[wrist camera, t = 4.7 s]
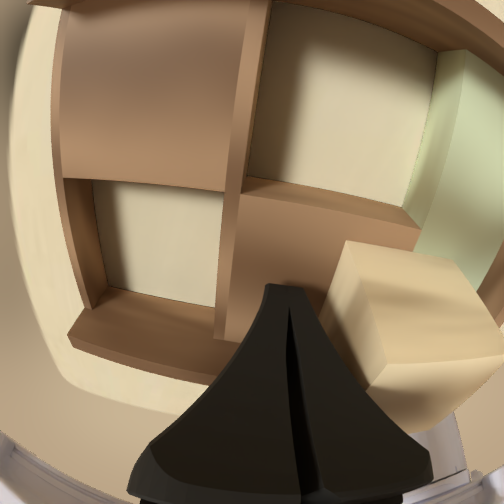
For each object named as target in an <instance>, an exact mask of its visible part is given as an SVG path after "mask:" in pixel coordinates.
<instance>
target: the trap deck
mask: <svg viewBox="0 0 504 504" xmlns="http://www.w3.org/2000/svg"><path fill="white" fill-rule="evenodd" d="M273 1H278V2H285V3H292V4H298V5H303V6H308V7H313V8H318V9H323V10H327V11H331V12H335V13H339V14H343V15H346V16H350V17H353V18H356V19H360V20H363V21H366V22H369V23H372V24H375V25H377V26H380V27H383V28H385V29H388V30H391V31H393V32H396V33H398V34H400V35H403V36H405V37H407V38H410V39H412V40H414V41H416V42H418V43H420V44H423V45H425V46H427V47H429V48H431V49H433V50H435V51H436V52H438V55H437V64H436V71H435V78H434V85H433V91H432V96H431V102H430V107H429V112H428V117H427V121H426V126H425V130H424V134H423V138H422V142H421V146H420V150H419V154H418V157H417V161H416V165H415V168H414V171H413V175H412V178H411V181H410V185H409V188H408V191H407V194H406V197H405V200H404V203H403V206H402V207H398V206H394V205H390V204H386V203H382V202H378V201H374V200H370V199H366V198H361V197H357V196H353V195H348V194H344V193H339V192H334V191H329V190H324V189H319V188H314V187H309V186H304V185H298V184H293V183H287V182H281V181H275V180H269V179H263V178H257V177H250V176H247V170H248V163H249V155H250V148H251V141H252V134H253V127H254V119H255V113H256V106H257V99H258V92H259V85H260V78H261V72H262V65H263V59H264V52H265V46H266V40H267V33H268V27H269V21H270V15H271V9H272V3H273ZM26 4H30V5H39V6H47V7H53V8H59V9H62V11H61V16H60V21H59V26H58V32H57V38H56V44H55V52H54V60H53V70H52V84H51V143H52V157H53V168H54V177H55V185H56V193H57V199H58V205H59V211H60V217H61V222H62V227H63V232H64V236H65V241H66V245H67V249H68V253H69V257H70V261H71V265H72V268H73V272H74V275H75V279H76V282H77V285H78V289H79V292H80V295H81V298H82V301H83V304H84V307H85V308H84V309H83V311H82V312H81V314H80V315H79V317H78V318H77V320H76V321H75V323H74V324H73V326H72V328H71V329H70V331H69V332H68V334H67V336H68V338H69V340H70V342H71V344H72V346H73V347H74V348H77V349H79V350H82V351H84V352H87V353H90V354H93V355H95V356H98V357H101V358H104V359H107V360H110V361H113V362H116V363H119V364H123V365H126V366H129V367H133V368H136V369H139V370H143V371H147V372H150V373H154V374H158V375H162V376H166V377H170V378H174V379H179V380H183V381H188V382H193V383H198V384H203V385H208V386H210V385H211V384H212V382H213V381H214V380H215V379H216V378H217V376H218V375H219V374H220V373H221V371H222V370H223V369H224V367H225V366H226V365H227V363H228V362H229V361H230V359H231V358H232V356H233V355H234V353H235V352H236V350H237V349H238V347H239V346H240V344H241V342H242V341H243V339H244V337H245V336H246V334H247V332H248V330H249V329H250V327H251V325H252V323H253V321H254V319H255V317H256V314H257V312H258V310H259V308H260V305H261V302H262V298H263V294H264V289H265V285H266V284H268V283H273V284H280V285H287V286H294V287H301V288H303V289H304V290H305V292H306V294H307V297H308V299H309V301H310V303H311V305H312V307H313V309H314V311H315V313H316V315H317V317H319V315H320V312H321V309H322V307H323V304H324V302H325V299H326V296H327V294H328V291H329V288H330V285H331V283H332V280H333V277H334V274H335V271H336V269H337V266H338V263H339V260H340V257H341V254H342V251H343V248H344V245H345V242H346V240H348V241H354V242H360V243H366V244H371V245H377V246H383V247H388V248H394V249H399V250H405V251H410V252H416V253H421V254H426V255H431V256H437V257H442V258H447V259H452V260H453V261H454V262H455V263H456V265H457V266H458V267H459V269H460V270H461V271H462V273H463V274H464V275H465V277H466V278H467V280H468V281H469V282H470V284H471V285H472V287H473V288H474V290H475V291H476V293H477V294H478V295H479V297H480V298H481V300H482V302H483V303H484V305H485V306H486V308H487V309H488V311H489V313H490V314H491V316H492V317H493V319H494V321H495V322H496V324H497V326H498V328H500V326H501V325H502V324H503V322H504V23H503V22H502V21H501V20H500V19H499V18H497V17H496V16H495V15H494V14H492V13H491V12H490V11H489V10H487V9H486V8H485V7H483V6H482V5H481V4H479V3H478V2H476V1H475V0H27V3H26ZM91 179H100V180H115V181H128V182H140V183H151V184H161V185H171V186H180V187H189V188H197V189H205V190H213V191H220V192H224V202H223V212H222V223H221V235H220V247H219V259H218V273H217V287H216V302H215V308H212V307H206V306H201V305H195V304H190V303H184V302H179V301H174V300H169V299H164V298H159V297H155V296H150V295H145V294H141V293H136V292H132V291H127V290H123V289H119V288H115V287H110V286H108V282H107V278H106V273H105V269H104V264H103V259H102V254H101V248H100V243H99V237H98V230H97V224H96V217H95V209H94V201H93V192H92V181H91Z"/></svg>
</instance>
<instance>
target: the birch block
mask: <svg viewBox="0 0 504 504" xmlns="http://www.w3.org/2000/svg"><path fill="white" fill-rule="evenodd" d="M318 319H319V321H320V323H321V325H322V327H323V328H324V330H325V332H326V334H327V336H328V337H329V339H330V341H331V343H332V344H333V346H334V348H335V349H336V351H337V352H338V354H339V356H340V357H341V359H342V360H343V362H344V363H345V365H346V366H347V368H348V369H349V371H350V372H351V373H352V375H353V376H354V377H355V379H356V380H357V381H358V383H359V384H360V385H361V386H362V388H363V389H364V390H365V391H366V393H367V394H368V395H369V396H370V397H371V398H372V399H373V401H374V402H375V403H376V404H377V405H378V406H379V407H380V408H381V409H382V410H383V411H384V413H385V414H386V415H387V416H388V417H389V418H390V419H391V420H392V421H394V422H395V423H396V424H397V425H398V426H399V427H400V428H401V429H402V430H403V431H404V432H405V433H407V434H411V433H417V432H422V431H426V430H430V429H431V428H433V427H434V426H435V425H437V424H438V423H439V422H441V421H442V420H443V419H444V418H446V417H447V416H448V415H449V414H451V413H452V412H453V411H454V410H455V409H457V408H458V407H459V406H460V405H461V404H462V403H464V402H465V401H466V400H467V399H468V398H469V397H470V396H471V395H473V394H474V393H475V392H476V391H477V390H478V389H479V388H480V387H481V386H482V385H483V384H484V383H485V382H486V381H487V380H488V379H489V378H490V377H491V376H492V375H493V374H494V373H495V372H496V371H497V370H498V369H499V368H500V366H501V365H502V364H503V363H504V336H503V335H502V333H501V331H500V329H499V328H498V326H497V324H496V322H495V321H494V319H493V317H492V316H491V314H490V313H489V311H488V309H487V308H486V306H485V305H484V303H483V302H482V300H481V298H480V297H479V295H478V294H477V293H476V291H475V290H474V288H473V287H472V285H471V284H470V282H469V281H468V280H467V278H466V277H465V275H464V274H463V273H462V271H461V270H460V269H459V267H458V266H457V265H456V263H455V262H454V261H453V260H452V259H447V258H442V257H437V256H431V255H426V254H421V253H416V252H410V251H405V250H399V249H394V248H388V247H383V246H377V245H371V244H366V243H360V242H354V241H348V240H346V242H345V245H344V248H343V251H342V254H341V257H340V260H339V263H338V266H337V269H336V271H335V274H334V277H333V280H332V283H331V285H330V288H329V291H328V294H327V296H326V299H325V302H324V304H323V307H322V309H321V312H320V315H319V317H318Z"/></svg>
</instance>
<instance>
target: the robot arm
mask: <svg viewBox="0 0 504 504" xmlns="http://www.w3.org/2000/svg"><path fill="white" fill-rule="evenodd" d="M466 469H467V464H466V460H465V455H464V450H463V446H462V442H461V438H460V433H459V429H458V426H457V423H456V418H455V415H454V411H453V412H452V413H451V414H449V415H448V416H447V417H446V418H444V419H443V420H442V421H441V422H439V423H438V424H437V425H435V426H434V427H433V428H431V429H430V430H426V431H422V432H417V433H411V434H407V433H405V432H404V431H403V430H402V429H401V428H400V427H399V426H398V425H397V424H396V423H395V422H394V421H392V420H391V419H390V418H389V417H388V416H387V415H386V414H385V413H384V411H383V410H382V409H381V408H380V407H379V406H378V405H377V404H376V403H375V402H374V401H373V399H372V398H371V397H370V396H369V395H368V394H367V393H366V391H365V390H364V389H363V388H362V386H361V385H360V384H359V383H358V381H357V380H356V379H355V377H354V376H353V375H352V373H351V372H350V371H349V369H348V368H347V366H346V365H345V363H344V362H343V360H342V359H341V357H340V356H339V354H338V352H337V351H336V349H335V348H334V346H333V344H332V343H331V341H330V339H329V337H328V336H327V334H326V332H325V330H324V328H323V327H322V325H321V323H320V321H319V319H318V317H317V315H316V313H315V311H314V309H313V307H312V305H311V303H310V301H309V299H308V297H307V294H306V292H305V290H304V289H303V288H301V287H294V286H287V285H280V284H273V283H268V284H266V285H265V289H264V294H263V298H262V302H261V305H260V308H259V310H258V312H257V314H256V317H255V319H254V321H253V323H252V325H251V327H250V329H249V330H248V332H247V334H246V336H245V337H244V339H243V341H242V342H241V344H240V346H239V347H238V349H237V350H236V352H235V353H234V355H233V356H232V358H231V359H230V361H229V362H228V363H227V365H226V366H225V367H224V369H223V370H222V371H221V373H220V374H219V375H218V376H217V378H216V379H215V380H214V381H213V382H212V384H211V385H210V386H209V387H208V388H207V389H206V391H205V392H204V393H203V394H202V395H201V396H200V397H199V398H198V399H197V400H196V401H195V402H194V403H193V404H192V405H191V406H190V407H189V408H188V409H187V410H186V411H185V412H184V413H183V414H182V415H181V416H180V417H179V418H178V419H177V420H176V421H175V422H174V423H172V424H171V425H170V426H169V427H168V428H166V429H165V430H164V431H163V432H162V433H160V434H159V435H158V436H157V437H156V438H154V439H153V440H152V441H151V442H150V443H149V444H148V446H147V447H146V449H145V450H144V451H143V453H142V454H141V456H140V457H139V458H138V460H137V462H136V463H135V465H134V468H133V470H132V472H131V475H130V479H129V483H128V487H127V490H126V491H127V492H128V493H129V494H130V495H133V496H135V497H138V498H141V500H140V504H504V465H502V466H500V467H499V468H497V469H495V470H494V471H492V472H490V473H488V474H487V475H485V476H483V473H482V472H480V471H477V470H474V471H472V472H471V478H472V481H471V480H470V474H469V470H468V469H467V470H466ZM464 470H465V471H464ZM462 471H463V472H462ZM0 504H133V503H130V502H127V501H125V500H122V499H119V498H116V497H114V496H112V495H109V494H107V493H104V492H102V491H100V490H97V489H95V488H93V487H91V486H89V485H86V484H84V483H82V482H80V481H78V480H76V479H74V478H72V477H70V476H69V475H67V474H65V473H63V472H61V471H59V470H57V469H56V468H54V467H52V466H51V465H49V464H47V463H46V462H44V461H42V460H41V459H39V458H38V457H37V456H36V455H35V454H33V453H32V452H30V451H29V450H27V449H26V448H24V447H23V446H22V445H20V444H19V443H18V442H16V441H15V440H13V439H12V438H10V437H9V436H8V435H6V434H4V433H3V432H2V431H1V430H0Z"/></svg>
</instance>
